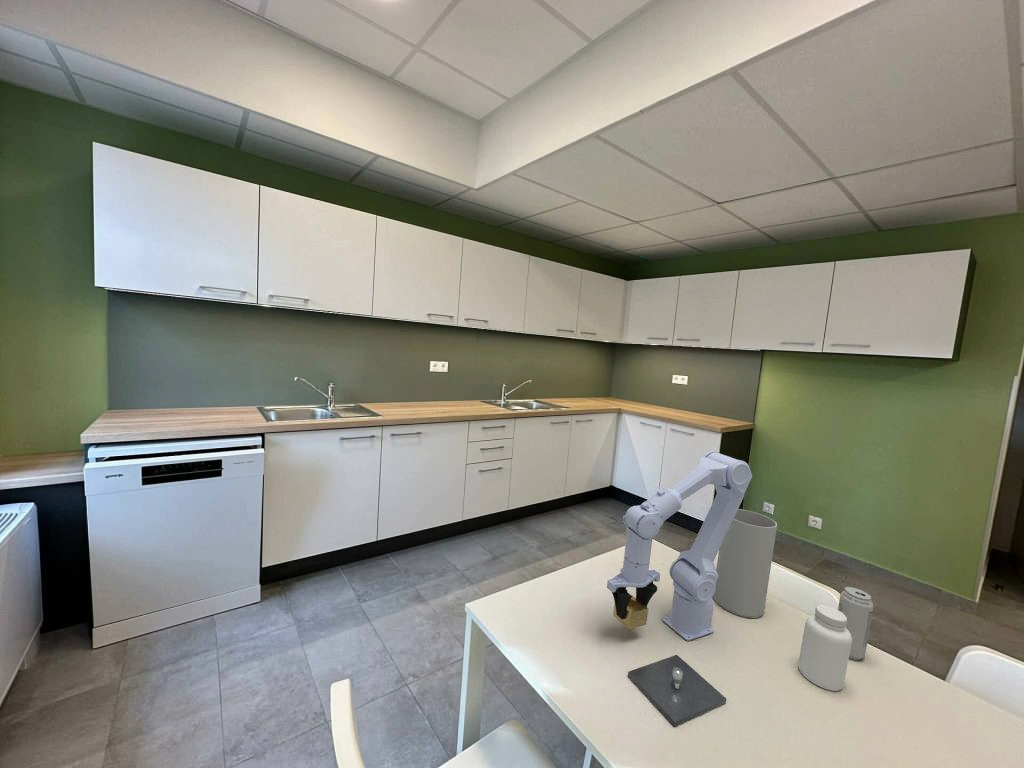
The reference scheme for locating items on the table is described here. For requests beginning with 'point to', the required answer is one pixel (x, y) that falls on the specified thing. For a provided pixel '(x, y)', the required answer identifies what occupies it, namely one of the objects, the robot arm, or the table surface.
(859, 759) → the table surface
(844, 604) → the energy drink can
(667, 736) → the table surface
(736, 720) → the table surface
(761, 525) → the cylinder vase
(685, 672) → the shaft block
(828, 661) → the pill bottle
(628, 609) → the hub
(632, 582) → the robot arm
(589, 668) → the table surface
